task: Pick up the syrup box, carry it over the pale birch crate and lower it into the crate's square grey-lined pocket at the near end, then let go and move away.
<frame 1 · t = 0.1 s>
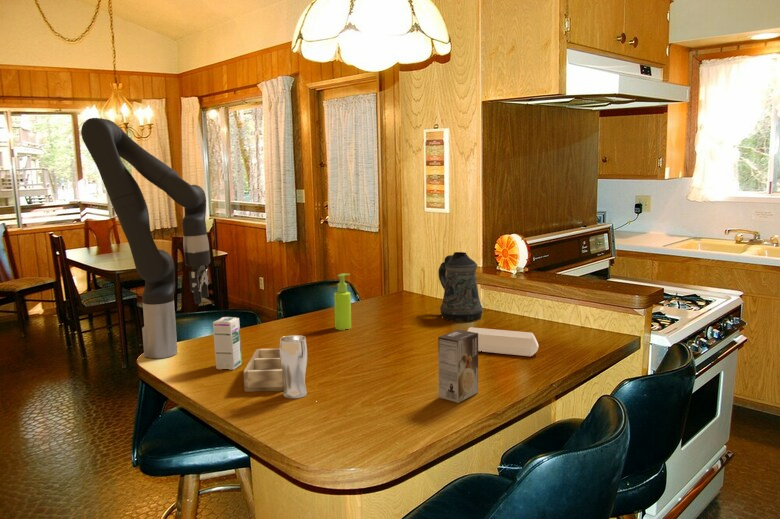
hand: (201, 300, 190), 17 cm above the kitchen island counter, tool pointing down, fingers open, 8 cm apart
beer glass: (295, 395, 156), on the kitchen island counter
beer stein: (457, 316, 236), on the kitchen island counter
crystal: (499, 352, 191), on the kitchen island counter
soap dispenser: (344, 328, 221), on the kitchen island counter
crate: (271, 378, 169), on the kitchen island counter
syrup box: (229, 367, 179), on the kitchen island counter
coffee box: (458, 396, 154), on the kitchen island counter
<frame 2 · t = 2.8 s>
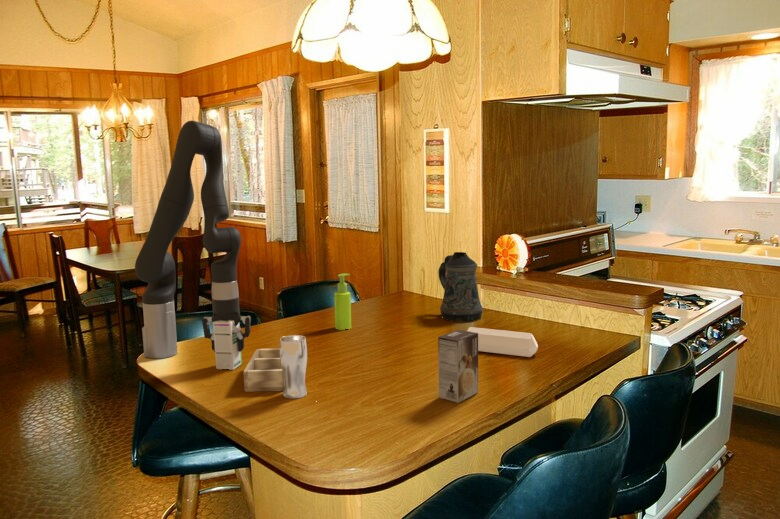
hand: (228, 351, 179), 5 cm above the kitchen island counter, tool pointing down, fingers closed on syrup box, 6 cm apart
syrup box: (229, 367, 179), on the kitchen island counter, touching gripper
everything else where it was.
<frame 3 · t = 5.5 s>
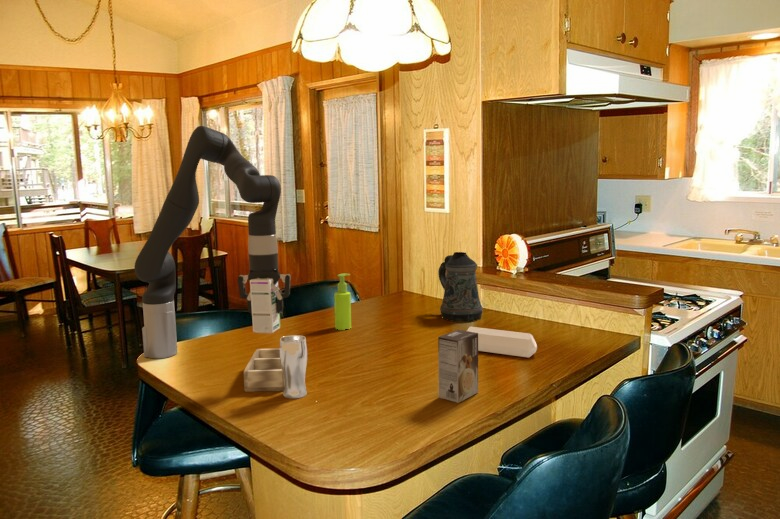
hand: (266, 313, 162), 20 cm above the kitchen island counter, tool pointing down, fingers closed on syrup box, 6 cm apart
syrup box: (266, 331, 162), point 15 cm above the kitchen island counter, touching gripper
everything else where it was.
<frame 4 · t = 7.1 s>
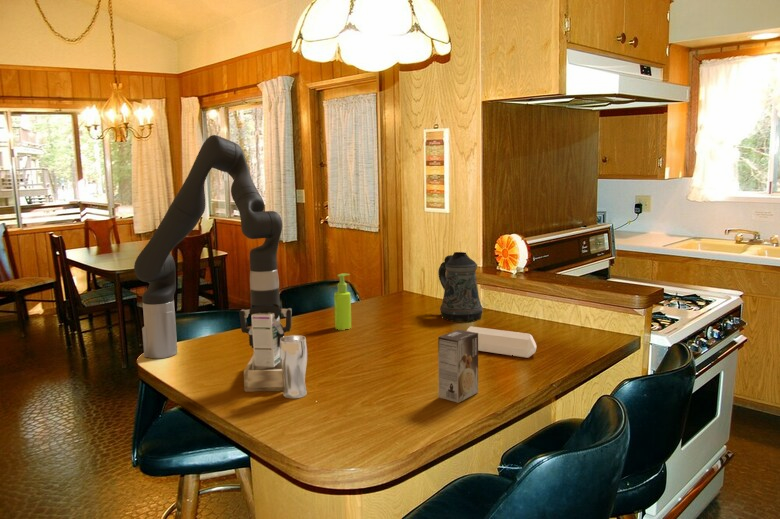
hand: (267, 346, 163), 10 cm above the kitchen island counter, tool pointing down, fingers closed on syrup box, 6 cm apart
syrup box: (268, 364, 164), point 5 cm above the kitchen island counter, touching gripper
everything else where it was.
when the fingers open (7 cm above the kitchen island counter, at t = 8.3 s): syrup box drops 1 cm, resting on crate.
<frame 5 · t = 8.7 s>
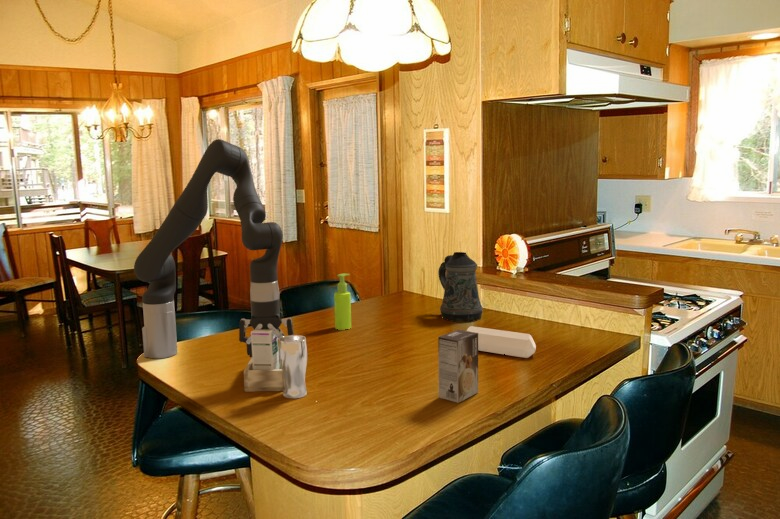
hand: (267, 356, 163), 8 cm above the kitchen island counter, tool pointing down, fingers open, 8 cm apart
syrup box: (267, 380, 164), point 1 cm above the kitchen island counter, touching crate
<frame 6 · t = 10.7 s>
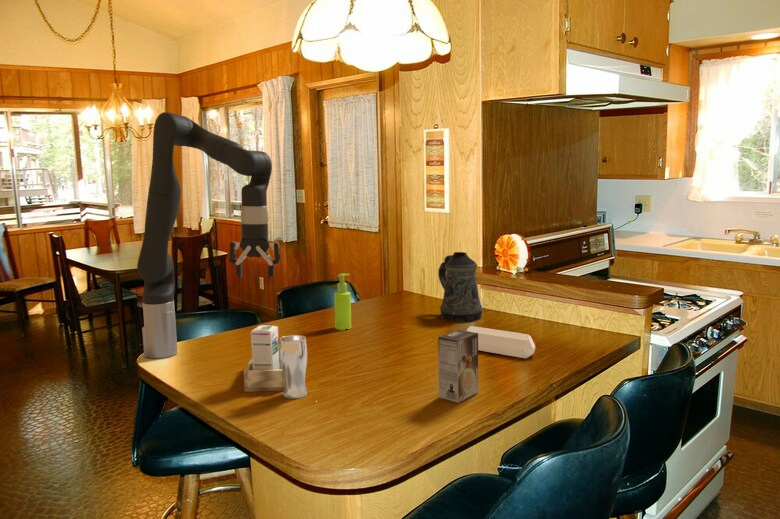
hand: (255, 277, 174), 27 cm above the kitchen island counter, tool pointing down, fingers open, 8 cm apart
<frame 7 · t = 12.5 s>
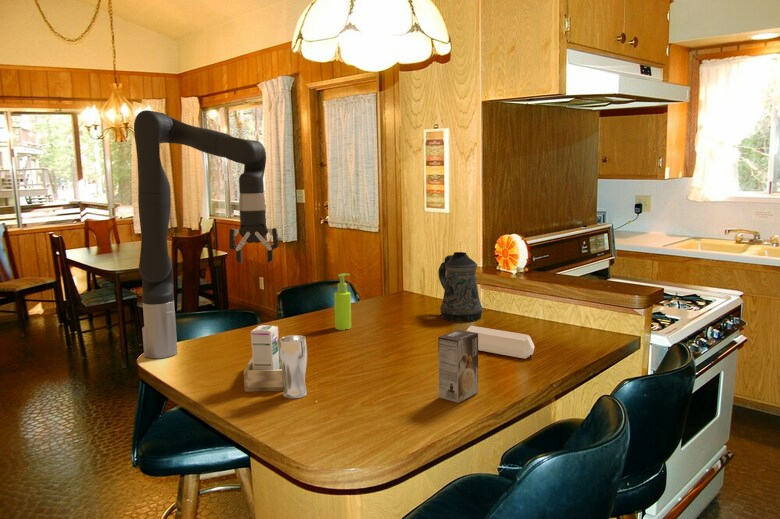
hand: (255, 262, 181), 30 cm above the kitchen island counter, tool pointing down, fingers open, 8 cm apart
at the end: syrup box 0.4 cm from the target spot on the crate, point 1.0 cm above the crate's base; syrup box tilted 0°; the gripper is holding nothing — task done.
